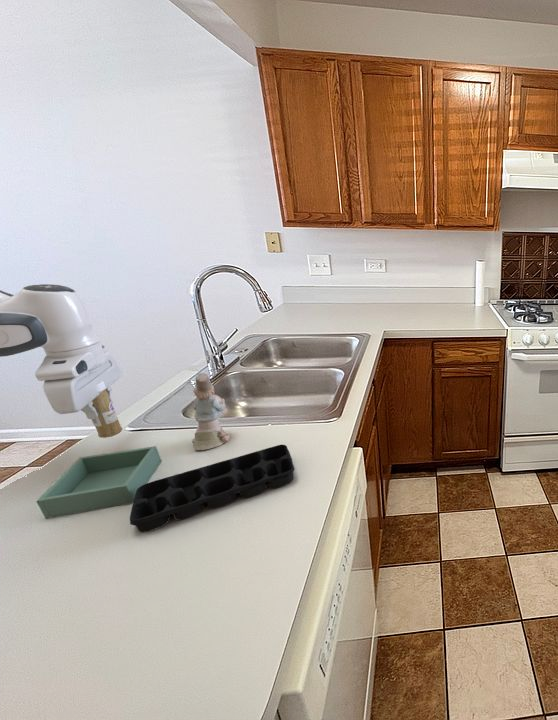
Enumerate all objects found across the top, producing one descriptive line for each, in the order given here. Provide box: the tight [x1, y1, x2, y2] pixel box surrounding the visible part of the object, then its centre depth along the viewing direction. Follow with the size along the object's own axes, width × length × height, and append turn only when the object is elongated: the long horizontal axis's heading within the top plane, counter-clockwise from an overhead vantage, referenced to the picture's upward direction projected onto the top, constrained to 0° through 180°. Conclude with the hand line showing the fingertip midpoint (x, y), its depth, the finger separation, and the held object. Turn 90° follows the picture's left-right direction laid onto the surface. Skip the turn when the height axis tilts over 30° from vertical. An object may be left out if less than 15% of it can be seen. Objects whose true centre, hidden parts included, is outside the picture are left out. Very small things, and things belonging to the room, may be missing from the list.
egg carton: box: [129, 444, 296, 533], centre depth 85 cm, size 18×30×4 cm, turn 135°
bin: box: [36, 445, 162, 519], centre depth 86 cm, size 15×15×4 cm
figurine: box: [191, 372, 230, 451], centre depth 99 cm, size 9×8×20 cm
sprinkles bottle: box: [90, 381, 124, 439], centre depth 93 cm, size 5×5×13 cm
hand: (101, 411), depth 93 cm, fingers closed on sprinkles bottle, 4 cm apart
